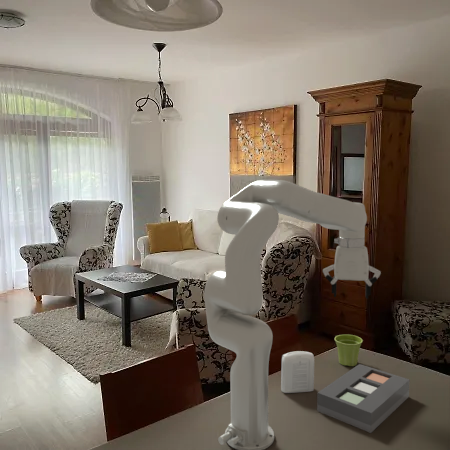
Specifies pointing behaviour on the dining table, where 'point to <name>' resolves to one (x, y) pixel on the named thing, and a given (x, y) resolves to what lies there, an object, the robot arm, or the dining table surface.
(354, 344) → the plant pot
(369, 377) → the terracotta key
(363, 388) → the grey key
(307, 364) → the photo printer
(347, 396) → the sage key
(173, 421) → the dining table surface
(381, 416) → the keypad
